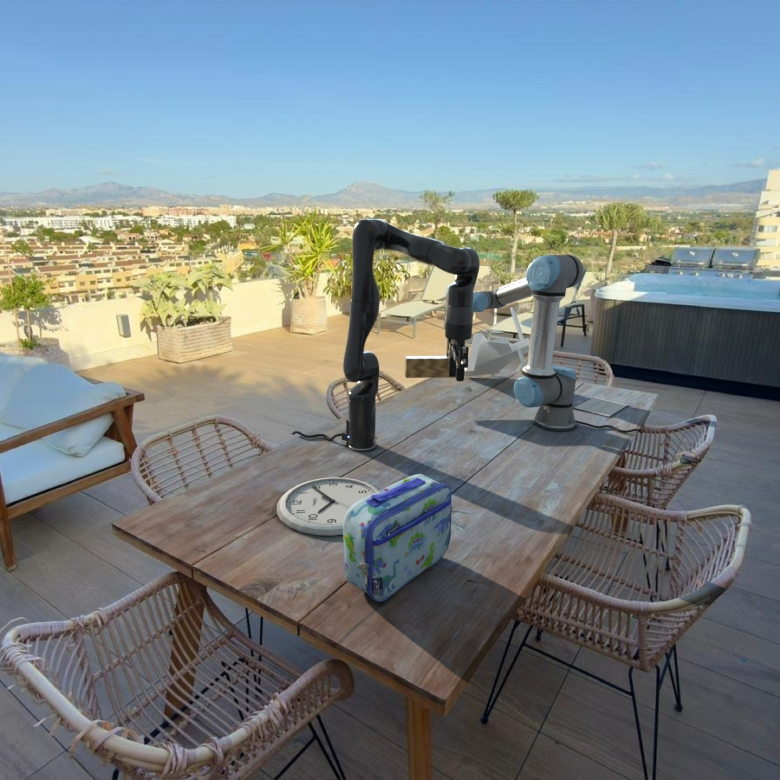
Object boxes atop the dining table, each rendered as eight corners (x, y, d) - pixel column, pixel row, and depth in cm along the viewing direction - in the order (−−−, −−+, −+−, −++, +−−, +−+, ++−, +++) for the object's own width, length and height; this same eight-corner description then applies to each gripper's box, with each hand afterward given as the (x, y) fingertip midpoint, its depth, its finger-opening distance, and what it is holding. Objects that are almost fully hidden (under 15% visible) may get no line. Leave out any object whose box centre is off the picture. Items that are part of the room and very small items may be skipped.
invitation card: (608, 416, 214) (573, 407, 224) (608, 416, 214) (573, 408, 224) (628, 404, 229) (594, 396, 238) (628, 405, 229) (594, 397, 238)
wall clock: (392, 527, 129) (268, 531, 127) (391, 533, 130) (269, 537, 127) (383, 473, 158) (282, 475, 155) (383, 478, 158) (282, 480, 156)
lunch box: (371, 615, 102) (372, 521, 96) (337, 588, 110) (335, 499, 103) (455, 559, 120) (460, 477, 114) (420, 540, 127) (423, 461, 121)
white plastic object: (480, 418, 266) (459, 395, 242) (461, 346, 288) (441, 318, 264) (550, 394, 254) (536, 368, 229) (526, 321, 276) (510, 289, 251)
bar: (457, 374, 231) (458, 355, 229) (460, 377, 227) (461, 358, 225) (404, 375, 229) (405, 356, 227) (405, 377, 225) (406, 358, 222)
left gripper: (440, 317, 153) (437, 370, 158) (452, 326, 140) (449, 384, 144) (465, 317, 154) (461, 370, 159) (479, 325, 141) (475, 383, 146)
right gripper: (441, 318, 230) (438, 369, 237) (449, 325, 213) (446, 380, 220) (458, 318, 231) (455, 369, 237) (467, 325, 214) (463, 380, 221)
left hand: (455, 376), depth 152 cm, fingers open, 8 cm apart
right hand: (451, 374), depth 229 cm, fingers closed on bar, 5 cm apart
